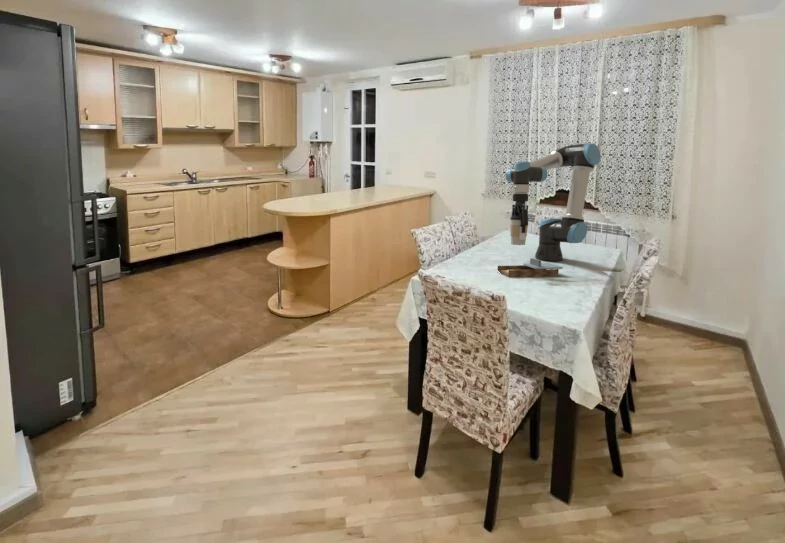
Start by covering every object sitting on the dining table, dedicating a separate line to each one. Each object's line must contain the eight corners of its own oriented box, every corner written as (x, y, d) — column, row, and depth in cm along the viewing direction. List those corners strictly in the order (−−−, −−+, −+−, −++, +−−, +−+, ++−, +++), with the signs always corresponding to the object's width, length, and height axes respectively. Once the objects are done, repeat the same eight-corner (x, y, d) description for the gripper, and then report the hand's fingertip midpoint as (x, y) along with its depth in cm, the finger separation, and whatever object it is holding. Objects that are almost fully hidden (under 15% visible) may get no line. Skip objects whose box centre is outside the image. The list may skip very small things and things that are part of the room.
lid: (548, 264, 255) (548, 257, 255) (562, 268, 240) (563, 261, 240) (523, 264, 253) (523, 257, 253) (536, 269, 238) (536, 261, 237)
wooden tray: (543, 271, 256) (544, 265, 255) (558, 276, 240) (558, 269, 240) (497, 272, 252) (497, 265, 251) (508, 277, 236) (509, 270, 236)
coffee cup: (506, 243, 247) (507, 214, 244) (523, 243, 247) (525, 214, 245) (512, 245, 238) (513, 214, 235) (530, 245, 239) (531, 215, 236)
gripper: (505, 193, 248) (503, 237, 252) (522, 193, 228) (520, 240, 231) (519, 193, 250) (516, 237, 253) (537, 193, 229) (534, 240, 232)
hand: (518, 238), depth 242 cm, fingers closed on coffee cup, 8 cm apart
